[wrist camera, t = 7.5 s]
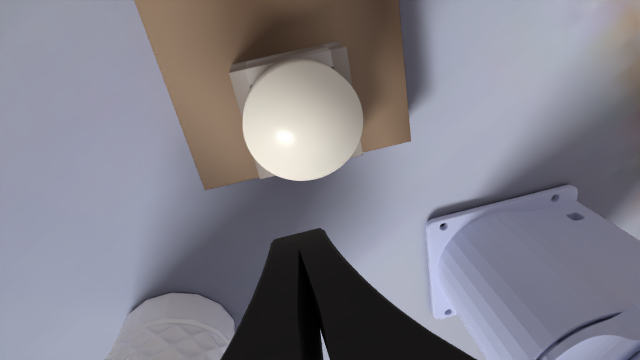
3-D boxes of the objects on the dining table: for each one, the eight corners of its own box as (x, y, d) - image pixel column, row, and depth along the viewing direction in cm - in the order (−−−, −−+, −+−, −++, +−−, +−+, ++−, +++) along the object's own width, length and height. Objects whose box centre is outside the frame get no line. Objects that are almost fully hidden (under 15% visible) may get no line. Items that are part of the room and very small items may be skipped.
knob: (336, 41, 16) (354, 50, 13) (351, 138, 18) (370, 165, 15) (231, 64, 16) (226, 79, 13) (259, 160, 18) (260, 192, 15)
